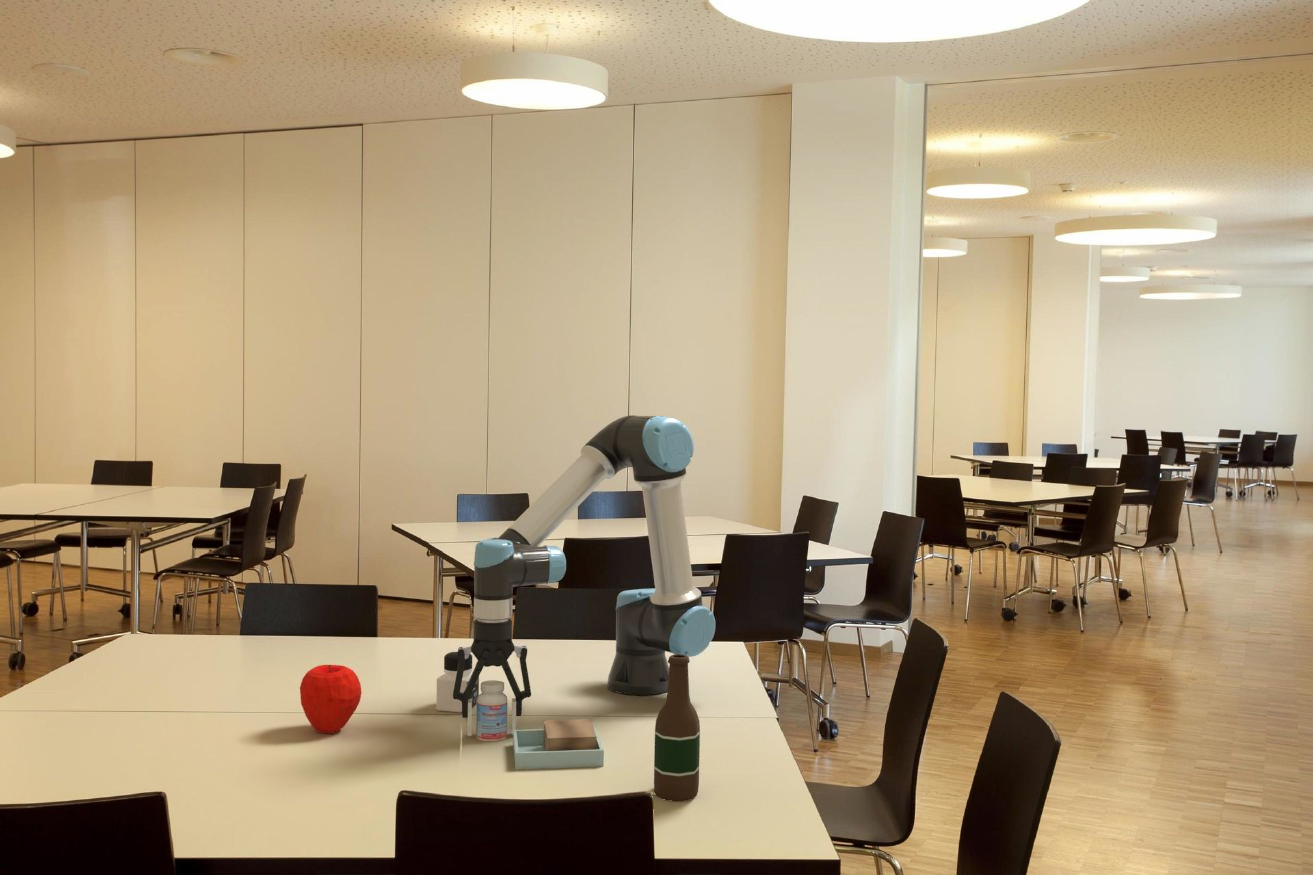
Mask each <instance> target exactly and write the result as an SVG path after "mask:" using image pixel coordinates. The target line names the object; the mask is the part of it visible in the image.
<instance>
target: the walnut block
mask: <svg viewBox="0 0 1313 875" xmlns="http://www.w3.org/2000/svg"><path fill="white" fill-rule="evenodd" d="M594 728H595V727H594V725H593V723H592V720H591V718H590V719H586V718H585V719H562V720H559V719H555V720H551V719H550V720H543V729H544V751H568V750H596V741H597V736H596V734H595V731H594Z"/></svg>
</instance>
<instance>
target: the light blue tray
mask: <svg viewBox="0 0 1313 875" xmlns="http://www.w3.org/2000/svg"><path fill="white" fill-rule="evenodd" d="M593 728H594V731H595V734H596V736H597V741H596V750H568V751H544V728H538V729H535V728H534V729H516V730H513V734H512V749H513V758H514V767H515V770H540V769H542V770H543V769H565V768H592V767H593V768H594V767H604V762H605V761H604V760H605V758H604V757H605V756H604V754H605V753H604V752H605V751H604V747H603V744H602V741H601V739H600V736H599V733H598V730H597V727H593Z"/></svg>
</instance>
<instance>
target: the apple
mask: <svg viewBox="0 0 1313 875" xmlns="http://www.w3.org/2000/svg"><path fill="white" fill-rule="evenodd" d="M299 693H300V704H301V708H302V710H303V712H304V714H305V717H306V719H307V720H308V722H309V723H310V726H311V727H312V728H313V729H314V730H315V731H316V732H318V733H321V734H326V735H327V734H334V733H338V732H339V731H340V730H341V729H343V728H344V727H345V726H346V725H347V723H348V722H349V720H350V719H351V718H352V717H353V714H354V713H355V712H356V710H357V708H358V706H359V704H360V702H361V697H362V684H361V681H360V678H359V677H358V675H357V674H356V673H355V671H354V670H353V669H351V668H349V667H348V666H345V665H341V664H340V665H339V664H321V665H320V664H319V665H317V666H315V667H313V668H311V669H310V670H308V671H307V672H306V673H305V675H304V676H303V677H302V679H301V682H300V686H299Z"/></svg>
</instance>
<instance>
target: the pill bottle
mask: <svg viewBox="0 0 1313 875" xmlns="http://www.w3.org/2000/svg"><path fill="white" fill-rule="evenodd" d="M479 690H480V692H481V693H479V696H478V697H477V706H476V713H475V714H476V715H475V716H476V719H475V720H476V722H475V724H476V725H475V727H476V729H475V737H476V739H477V740H479V741H483V742H496V741H497V742H498V741H502V740H504V739H506V738H507V736H508V696H507V695H506V694H505V693H504V690H505V682H504V681H502V680H498V679H497V680H494V679H492V680H491V679H490V680H485V681H482V682H480V687H479Z"/></svg>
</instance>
